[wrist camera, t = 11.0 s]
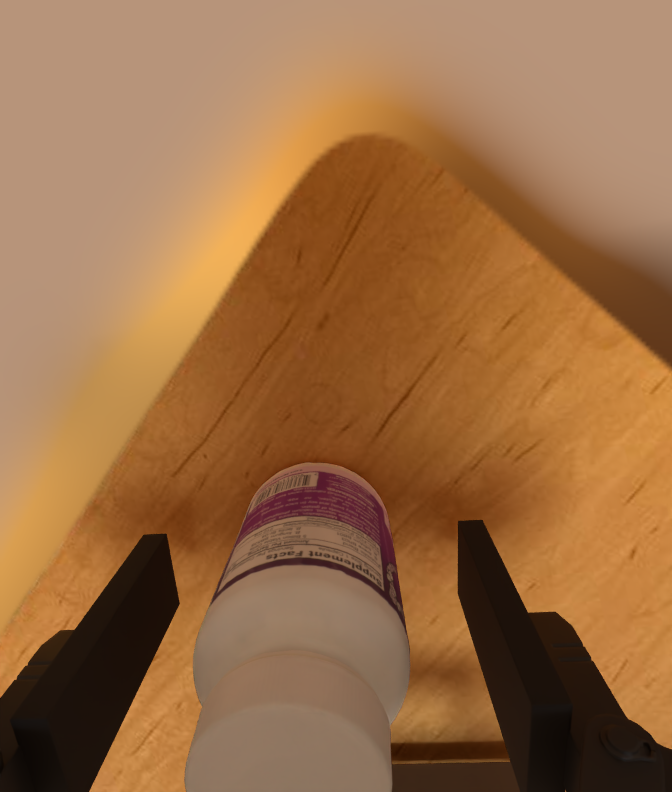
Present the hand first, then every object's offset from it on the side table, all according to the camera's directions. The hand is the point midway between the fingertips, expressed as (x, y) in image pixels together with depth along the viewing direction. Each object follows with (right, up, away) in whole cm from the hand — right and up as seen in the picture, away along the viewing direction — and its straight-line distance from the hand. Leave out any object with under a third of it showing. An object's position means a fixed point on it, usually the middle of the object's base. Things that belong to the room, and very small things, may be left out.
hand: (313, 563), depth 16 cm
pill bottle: (0, +1, +3) cm, 3 cm away
